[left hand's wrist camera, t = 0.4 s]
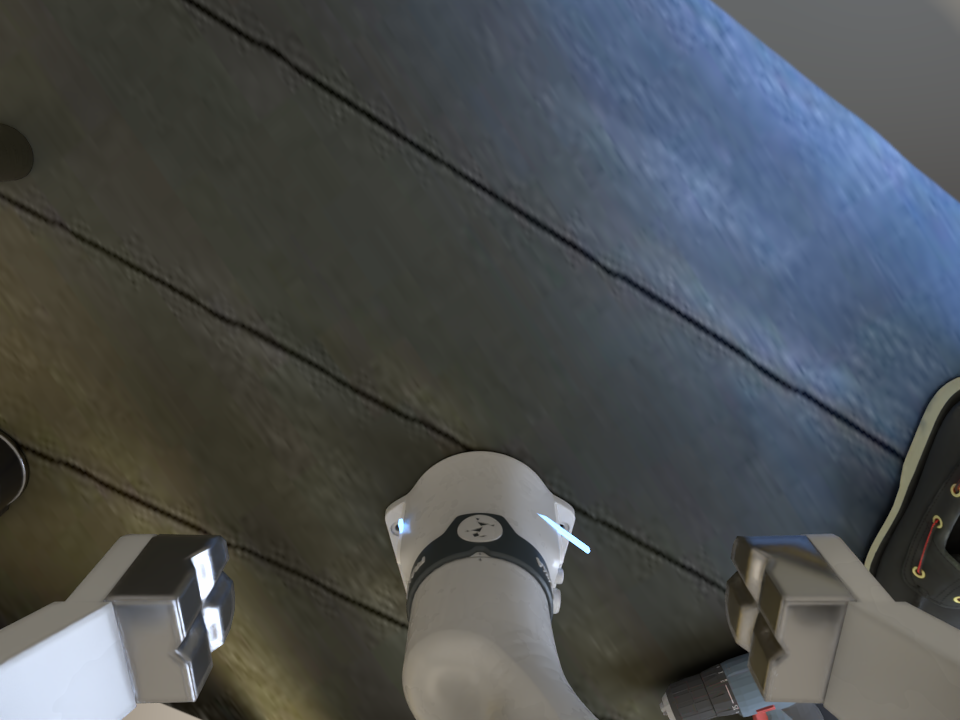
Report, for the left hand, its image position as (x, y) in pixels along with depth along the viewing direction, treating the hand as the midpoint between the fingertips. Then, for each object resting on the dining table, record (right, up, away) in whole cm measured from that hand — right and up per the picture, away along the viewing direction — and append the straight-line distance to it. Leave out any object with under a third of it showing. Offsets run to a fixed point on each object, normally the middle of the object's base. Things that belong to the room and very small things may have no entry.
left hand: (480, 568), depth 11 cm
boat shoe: (+46, -13, +56) cm, 74 cm away
